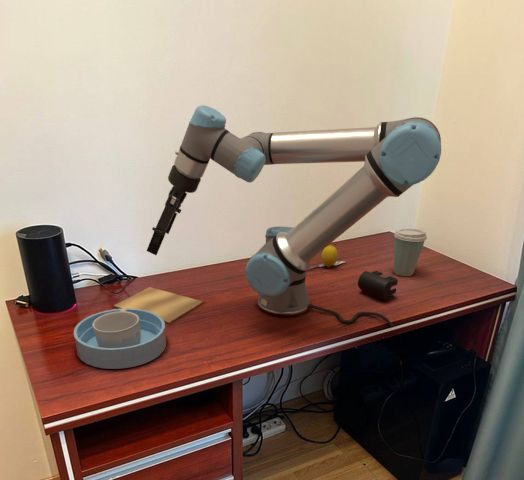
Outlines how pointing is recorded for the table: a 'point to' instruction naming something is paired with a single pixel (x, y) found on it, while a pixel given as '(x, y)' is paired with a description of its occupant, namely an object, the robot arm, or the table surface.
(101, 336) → the teacup
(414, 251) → the disposable coffee cup
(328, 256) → the lemon
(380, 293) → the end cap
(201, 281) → the table surface
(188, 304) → the placemat
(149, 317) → the bowl
